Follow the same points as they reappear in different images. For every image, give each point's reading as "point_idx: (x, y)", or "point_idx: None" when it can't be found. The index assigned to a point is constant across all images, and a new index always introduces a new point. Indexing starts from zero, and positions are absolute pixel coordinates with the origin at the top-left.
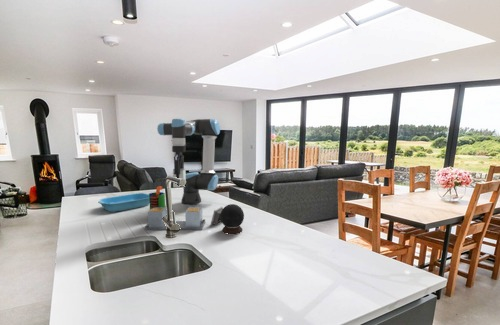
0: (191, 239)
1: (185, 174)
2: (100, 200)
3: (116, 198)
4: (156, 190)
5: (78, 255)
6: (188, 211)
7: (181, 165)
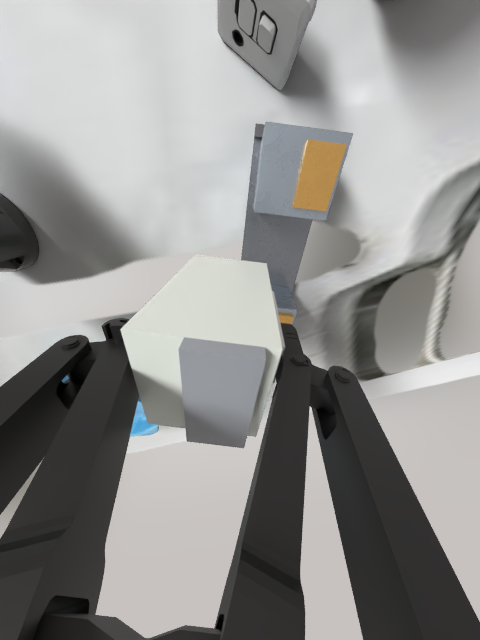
0: (409, 179)
1: (163, 291)
2: (138, 435)
3: None
4: None
5: (371, 385)
6: (328, 204)
7: (107, 436)
